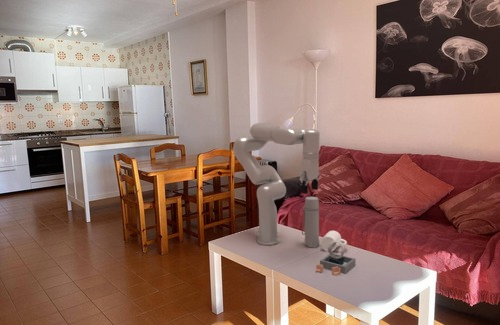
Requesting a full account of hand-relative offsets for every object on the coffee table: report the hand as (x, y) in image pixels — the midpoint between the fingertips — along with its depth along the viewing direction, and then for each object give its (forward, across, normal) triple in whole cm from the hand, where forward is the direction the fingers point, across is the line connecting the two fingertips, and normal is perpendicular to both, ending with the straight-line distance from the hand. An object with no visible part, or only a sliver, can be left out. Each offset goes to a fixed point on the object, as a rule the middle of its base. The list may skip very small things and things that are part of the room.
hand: (309, 191), depth 182 cm
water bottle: (+32, -10, -4) cm, 34 cm away
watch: (+30, +6, +18) cm, 36 cm away
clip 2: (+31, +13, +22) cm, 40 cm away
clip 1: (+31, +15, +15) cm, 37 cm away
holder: (+31, +5, +19) cm, 36 cm away
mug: (+31, -12, +8) cm, 35 cm away
